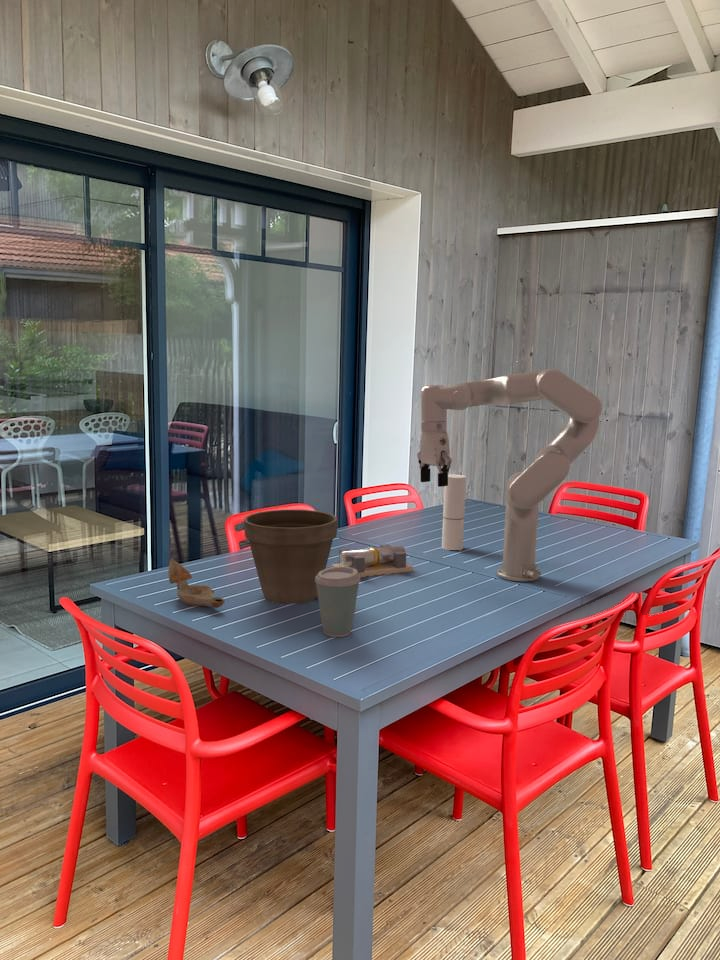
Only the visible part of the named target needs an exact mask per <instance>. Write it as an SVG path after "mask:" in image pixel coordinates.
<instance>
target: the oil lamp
mask: <svg viewBox="0 0 720 960" xmlns="http://www.w3.org/2000/svg"><path fill="white" fill-rule="evenodd" d="M167 571H168V572H167V573H168V582H169V584H170V585H171V584H176V588H177V597H178V599H179V600H180V601H181V602H182V603H183V604H184V605H186V606H190V605H191V607H197V606H198V607H199V606H200V607H210V608H215V609H218V608H220V607H222V606H223V605H224V604H225V602H226V599H225V598H222V597H219V596H217V595H216V596H215V595H214V592H215V589H212V588H211V587H210V586H209V585H204V584H195V585H189V583H188V580H191V579H192V578H193V576H192V574H191V572H190V571H189V570H188V569H187V568H185V567H184V566H183V565H181V564H180V563H179V562H178V561H176V560H175V559H174V558H171V559H170V560H169V564H168V570H167Z"/></svg>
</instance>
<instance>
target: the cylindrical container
mask: <svg viewBox="0 0 720 960" xmlns="http://www.w3.org/2000/svg"><path fill="white" fill-rule="evenodd" d="M466 485H467V476H466V475H463V474H453V473H451V474H450V473H448V486H443V487H444V488H443V506H442V507H443V509H442V510H443V512H442V534H441V536H442V537H441V549H442V548H443V549H442V550H444V549H445V551H449V550H459V551H462V550H463V549H464V531H465V529H464V527H465V511H466V510H465V507H466V505H465V504H466ZM461 549H462V550H461Z"/></svg>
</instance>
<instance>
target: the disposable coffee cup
mask: <svg viewBox="0 0 720 960" xmlns="http://www.w3.org/2000/svg"><path fill="white" fill-rule="evenodd" d="M315 582H316V587H317V594H318V596H317V599H318V606H319V612H320V618H321V619H320V620H321V627H322V631H323V634H324V635H326V636H328V637H331V638H343V637H347V636H349V635H350V634H351V633H352V632H351V631H352V629H353V625H354V624H353V623H354V619H355V618H354V617H355V612H356V606H357V600H358V592H359V591H358V590H359V585H360V582H361V577H360V576H359V575H358V570H356V569H354V568H351V567H346V566H345V567H332V568H331V567H326V569H324V570H322V571H320V572H319V573H318V574H317V576H316V577H315Z"/></svg>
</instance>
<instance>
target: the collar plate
mask: <svg viewBox="0 0 720 960" xmlns="http://www.w3.org/2000/svg"><path fill="white" fill-rule="evenodd" d="M383 547H393V546H392V545H390V544H382V545H379V548H383ZM344 551H352V550H351V549H350V548H342V549H341V548H340V549H338V563H331V565H330V568H332V567H341V565H340V559H339V558H340V553H341V552H344ZM405 552H406V551H405ZM405 552H403V551H401V552H394V560H393V563H388V564H379V565H373V566H365V558H364V557H363V556H354V557H352V568H354V569H356V570H358V575H359V576H360V578H367V577H366V576H369V577H375V576H374V575H377V576H383V575H382V574H385V575H392V574H391V573H394V574H399V573H400V574H401V572H402V573H409V572H414V566H413V565H411V564H409V563H407V552H406V553H405Z"/></svg>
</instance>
